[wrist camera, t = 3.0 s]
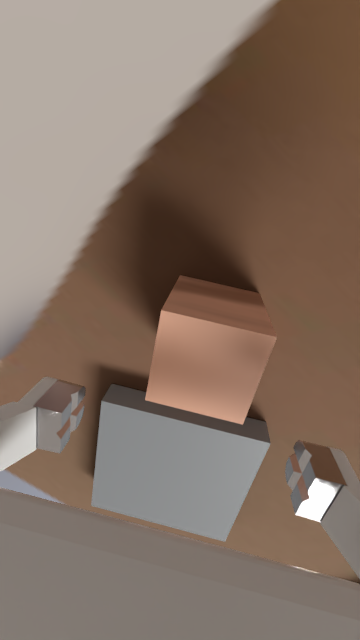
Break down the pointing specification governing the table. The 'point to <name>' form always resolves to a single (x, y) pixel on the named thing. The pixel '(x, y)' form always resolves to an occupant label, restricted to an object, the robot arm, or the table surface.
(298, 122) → the table surface
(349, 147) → the table surface
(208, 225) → the table surface
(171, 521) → the slate base
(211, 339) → the terracotta block
